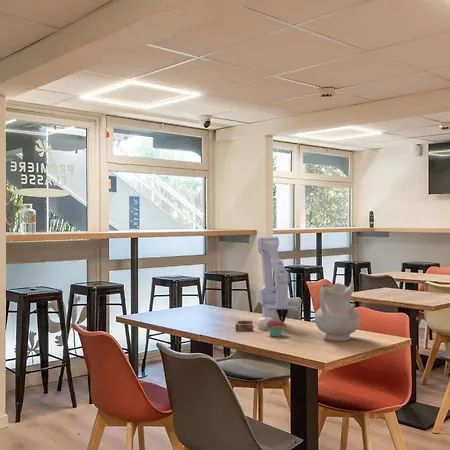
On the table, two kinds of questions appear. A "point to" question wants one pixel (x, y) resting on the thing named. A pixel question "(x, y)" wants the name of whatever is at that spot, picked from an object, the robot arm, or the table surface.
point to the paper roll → (263, 323)
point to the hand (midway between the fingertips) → (282, 325)
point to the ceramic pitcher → (337, 312)
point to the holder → (244, 326)
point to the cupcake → (275, 326)
